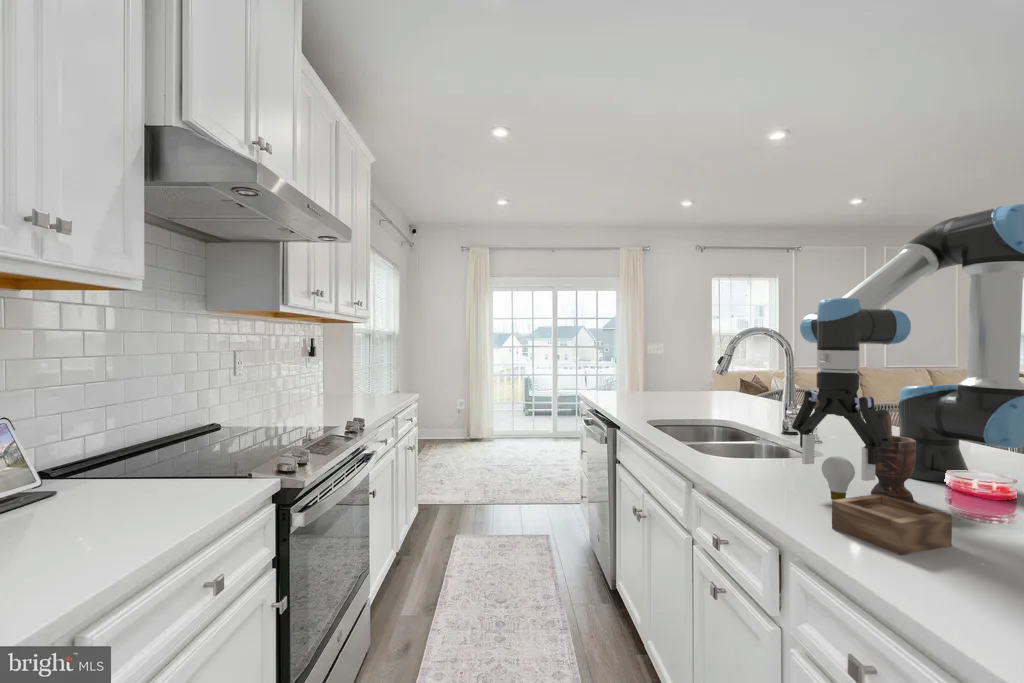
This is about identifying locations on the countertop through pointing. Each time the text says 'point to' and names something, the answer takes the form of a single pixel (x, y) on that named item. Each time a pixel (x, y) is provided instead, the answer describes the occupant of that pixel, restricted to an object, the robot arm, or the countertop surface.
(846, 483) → the light bulb
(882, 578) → the countertop surface
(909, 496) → the mortar and pestle
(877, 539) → the tray
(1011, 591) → the countertop surface
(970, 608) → the countertop surface
